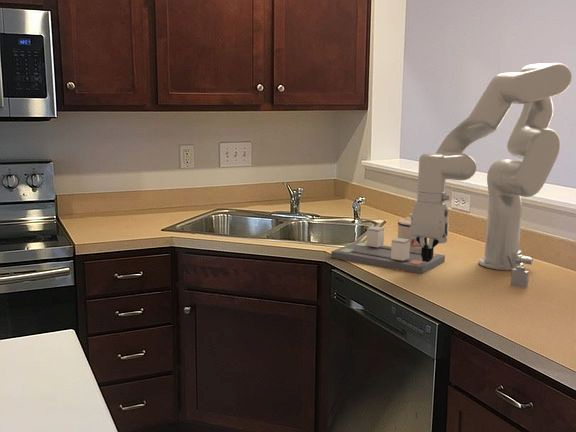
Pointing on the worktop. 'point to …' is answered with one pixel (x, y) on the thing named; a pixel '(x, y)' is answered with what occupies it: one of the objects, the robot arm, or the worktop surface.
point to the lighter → (516, 273)
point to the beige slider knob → (400, 249)
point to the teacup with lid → (407, 233)
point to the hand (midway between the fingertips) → (426, 260)
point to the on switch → (375, 236)
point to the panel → (386, 257)
